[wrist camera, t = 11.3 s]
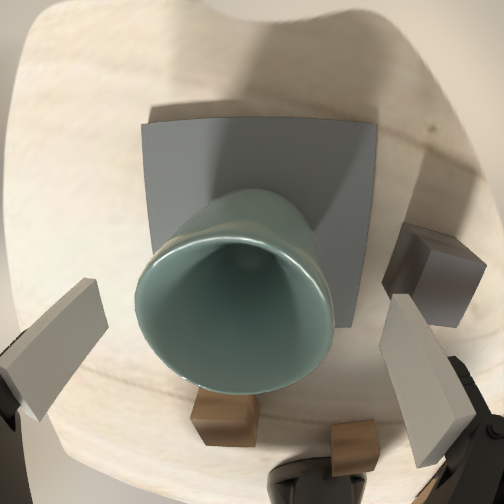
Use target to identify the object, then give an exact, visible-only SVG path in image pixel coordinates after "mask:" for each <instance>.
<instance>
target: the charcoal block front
mask: <svg viewBox="0 0 504 504" xmlns="http://www.w3.org/2000/svg"><path fill="white" fill-rule="evenodd" d="M486 267H487V265H486V264H485V263H484V262H483V261H482V260H481V259H480V258H478V257H477V256H476V255H475V254H474V253H473V252H472V251H470V250H469V249H468V248H467V247H466V246H465V245H463V244H462V243H461V242H460V241H459V240H457V239H456V238H455V237H452V236H449V235H445V234H442V233H439V232H435V231H432V230H428V229H425V228H421V227H418V226H414V225H411V224H407V223H404V222H403V224H402V228H401V231H400V234H399V237H398V240H397V242H396V245H395V248H394V251H393V254H392V257H391V259H390V262H389V265H388V267H387V270H386V273H385V275H384V278H383V280H382V285H383V287H384V289H385V291H386V292H387V294H388V296H389V298H390V300H391V298H392V294H409V296H410V297H411V299H412V300H413V302H414V303H415V305H416V306H417V308H418V309H419V311H420V313H421V314H422V316H423V317H424V319H425V321H426V322H427V324H429V325H436V326H444V327H453V328H457V326H458V324H459V322H460V320H461V319H462V317H463V315H464V313H465V311H466V309H467V307H468V305H469V303H470V301H471V299H472V297H473V295H474V293H475V291H476V289H477V287H478V285H479V282H480V280H481V278H482V276H483V273H484V271H485V269H486Z"/></svg>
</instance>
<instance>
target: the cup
mask: <svg viewBox="0 0 504 504" xmlns="http://www.w3.org/2000/svg"><path fill="white" fill-rule="evenodd" d="M135 312H136V316H137V320H138V323H139V327H140V329H141V331H142V333H143V335H144V337H145V339H146V341H147V342H148V344H149V345H150V347H151V348H152V349H153V351H154V352H155V354H156V355H157V356H158V357H159V358H160V359H161V360H162V361H163V362H164V363H165V364H166V365H167V366H168V367H169V368H170V369H172V370H173V371H174V372H175V373H177V374H178V375H179V376H181V377H182V378H184V379H186V380H187V381H189V382H191V383H192V384H194V385H197V386H199V387H202V388H204V389H207V390H210V391H214V392H219V393H223V394H233V395H250V394H260V393H265V392H270V391H274V390H277V389H280V388H283V387H286V386H289V385H291V384H293V383H295V382H297V381H299V380H301V379H303V378H304V377H305V376H307V375H308V374H309V373H311V372H312V371H313V370H315V369H316V367H317V366H318V365H319V364H320V363H321V362H322V360H323V359H324V358H325V357H326V355H327V353H328V350H329V348H330V346H331V344H332V339H333V333H334V326H335V319H334V308H333V299H332V294H331V289H330V284H329V280H328V276H327V272H326V268H325V264H324V261H323V258H322V254H321V251H320V249H319V246H318V243H317V240H316V237H315V235H314V233H313V231H312V229H311V227H310V226H309V224H308V222H307V220H306V219H305V217H304V216H303V215H302V213H301V212H300V211H299V210H298V209H297V207H296V206H295V205H294V204H293V203H291V202H290V201H289V200H287V199H286V198H285V197H283V196H281V195H279V194H277V193H275V192H273V191H270V190H265V189H261V188H246V189H241V190H236V191H232V192H229V193H227V194H224V195H222V196H220V197H217V198H216V199H214V200H212V201H211V202H209V203H208V204H206V205H204V206H203V207H201V208H200V209H199V210H198V211H196V212H195V213H194V214H193V215H192V216H191V217H190V218H189V219H188V220H187V221H185V222H184V223H183V224H182V225H181V226H180V227H179V228H178V229H177V230H176V231H175V232H174V233H173V234H172V235H171V236H170V238H169V239H168V240H167V241H166V242H165V243H164V244H163V245H162V246H161V247H160V248H159V249H158V251H157V252H156V253H155V254H154V255H153V257H152V258H151V259H150V261H149V262H148V264H147V266H146V267H145V269H144V271H143V272H142V274H141V276H140V278H139V280H138V284H137V287H136V291H135Z"/></svg>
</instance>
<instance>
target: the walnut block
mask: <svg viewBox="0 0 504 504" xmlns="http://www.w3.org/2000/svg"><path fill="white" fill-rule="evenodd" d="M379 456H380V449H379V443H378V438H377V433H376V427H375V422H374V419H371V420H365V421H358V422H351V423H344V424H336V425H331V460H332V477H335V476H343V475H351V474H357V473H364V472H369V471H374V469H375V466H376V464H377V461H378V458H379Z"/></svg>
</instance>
